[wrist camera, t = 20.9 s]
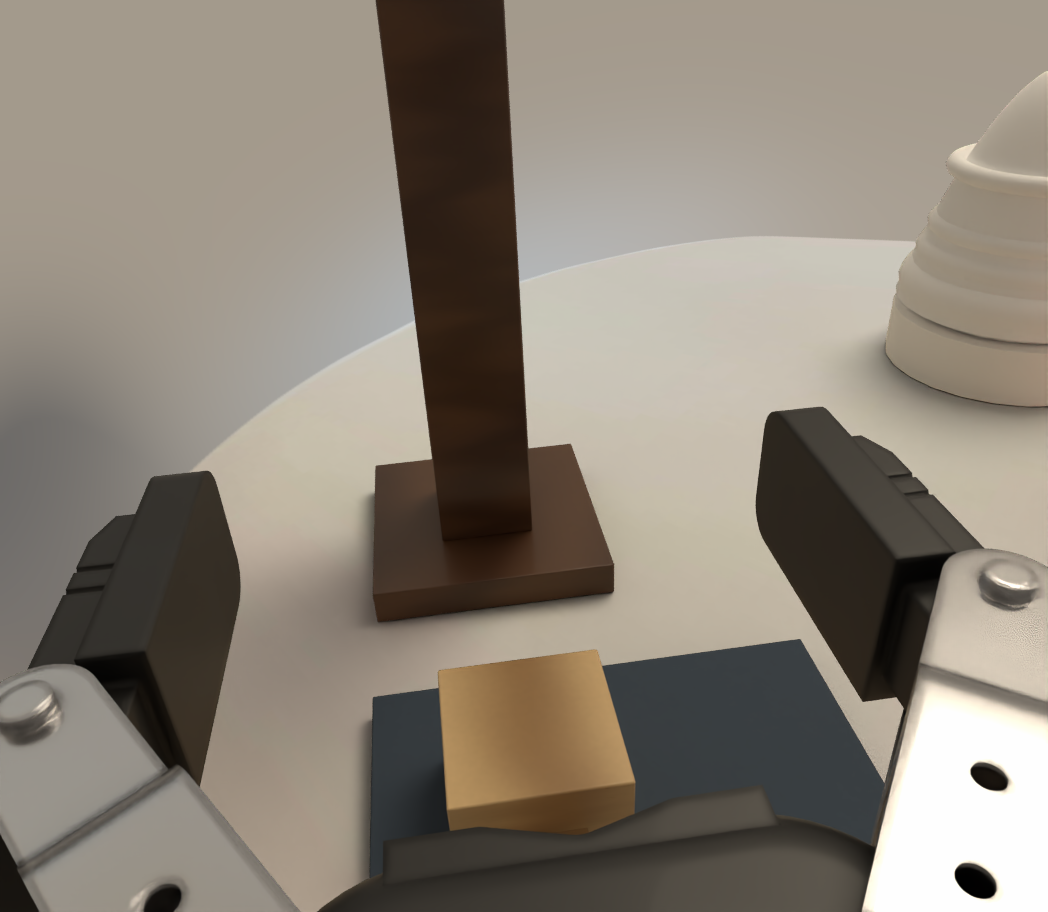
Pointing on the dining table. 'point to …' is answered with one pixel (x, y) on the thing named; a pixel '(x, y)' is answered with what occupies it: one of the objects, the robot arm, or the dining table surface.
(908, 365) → the honey pot
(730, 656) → the mat
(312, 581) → the dining table surface
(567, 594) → the brown pedestal stand
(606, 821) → the light wood mallet shape
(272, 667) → the dining table surface
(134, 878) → the robot arm
